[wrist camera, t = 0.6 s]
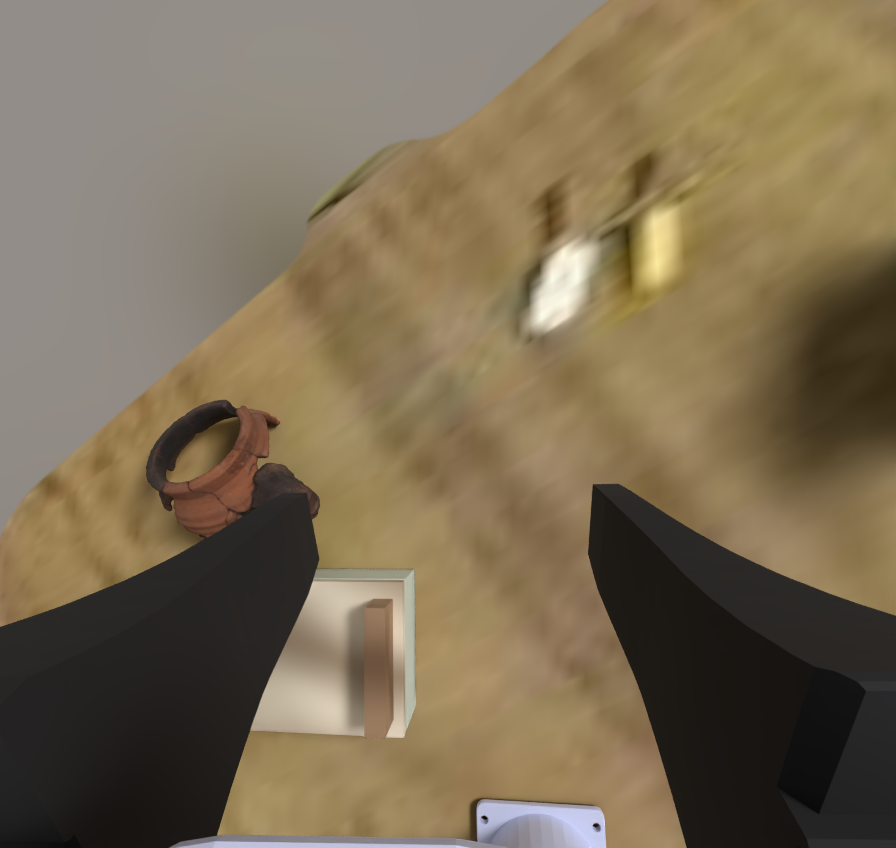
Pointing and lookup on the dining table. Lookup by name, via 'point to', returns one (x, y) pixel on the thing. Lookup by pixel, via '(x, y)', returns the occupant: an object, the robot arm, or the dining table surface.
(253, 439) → the brown figurine
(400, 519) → the dining table surface
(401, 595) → the lid
